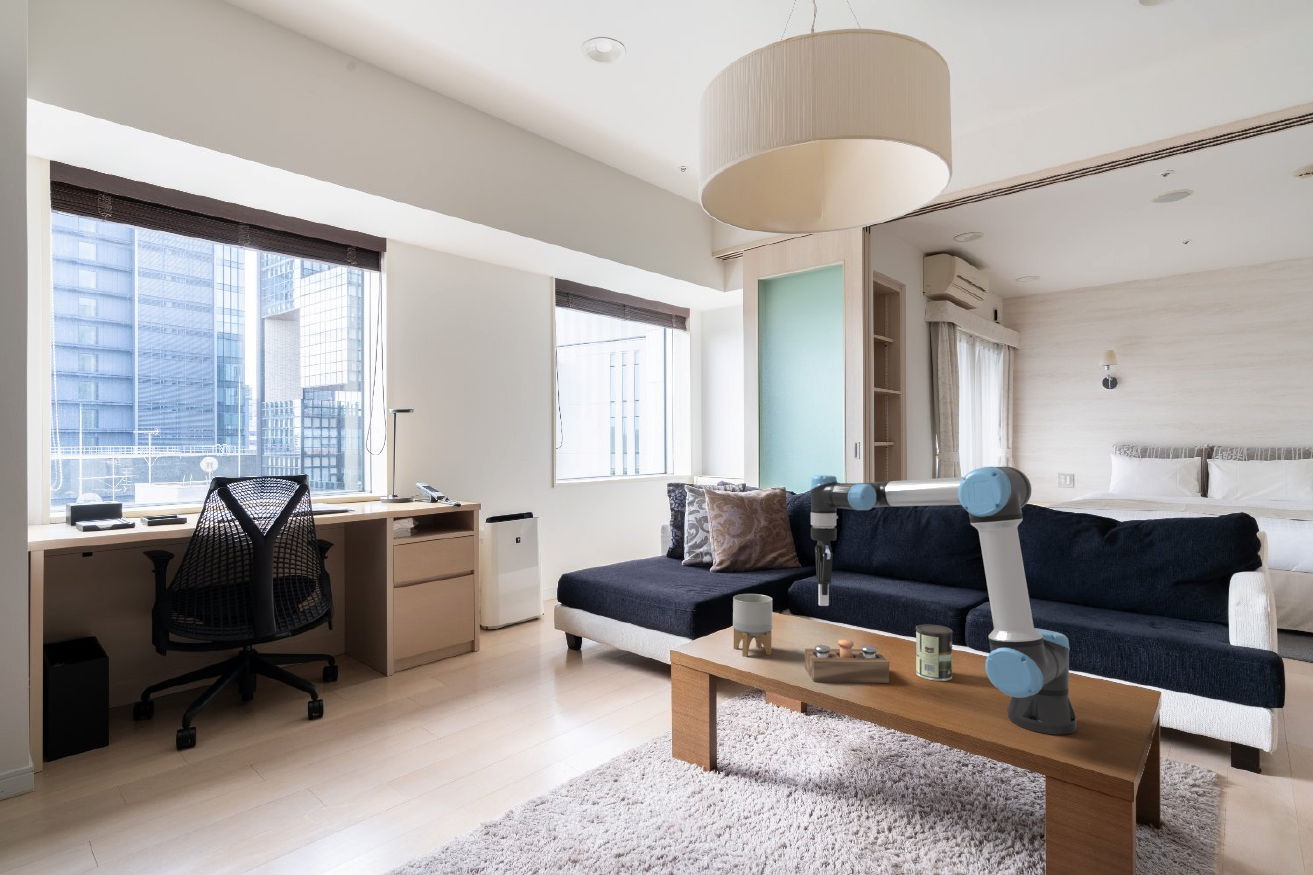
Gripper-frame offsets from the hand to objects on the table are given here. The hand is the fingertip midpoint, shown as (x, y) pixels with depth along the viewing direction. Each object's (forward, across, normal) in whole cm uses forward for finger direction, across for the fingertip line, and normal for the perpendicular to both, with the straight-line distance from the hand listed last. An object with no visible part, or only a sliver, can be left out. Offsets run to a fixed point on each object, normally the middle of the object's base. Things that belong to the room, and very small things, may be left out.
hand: (823, 605), depth 202 cm
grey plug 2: (+20, 0, -14) cm, 24 cm away
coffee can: (+21, +1, -34) cm, 40 cm away
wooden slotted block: (+21, 0, -7) cm, 22 cm away
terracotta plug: (+18, 0, -7) cm, 19 cm away
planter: (+21, +22, +18) cm, 36 cm away
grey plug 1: (+20, 0, 0) cm, 20 cm away
